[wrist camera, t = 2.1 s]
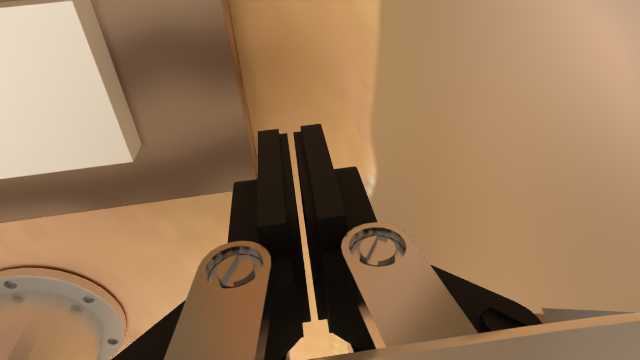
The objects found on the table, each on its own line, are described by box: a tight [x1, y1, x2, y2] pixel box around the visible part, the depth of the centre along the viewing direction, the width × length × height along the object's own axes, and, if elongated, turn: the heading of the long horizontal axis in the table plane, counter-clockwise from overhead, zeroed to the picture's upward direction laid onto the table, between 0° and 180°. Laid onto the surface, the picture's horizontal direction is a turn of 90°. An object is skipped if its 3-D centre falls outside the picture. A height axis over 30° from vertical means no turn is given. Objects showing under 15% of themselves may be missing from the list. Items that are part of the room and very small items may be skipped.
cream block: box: [0, 0, 142, 179], centre depth 20 cm, size 8×8×2 cm
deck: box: [0, 0, 257, 223], centre depth 23 cm, size 16×16×4 cm
